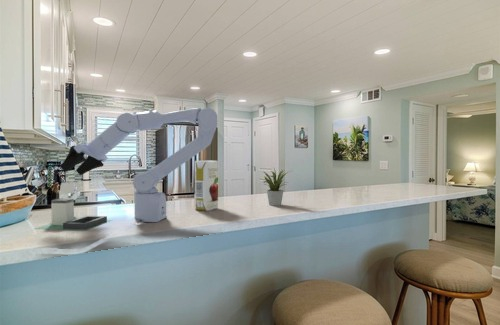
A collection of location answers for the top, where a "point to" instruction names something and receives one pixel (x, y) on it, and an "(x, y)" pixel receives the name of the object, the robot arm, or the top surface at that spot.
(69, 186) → the wineglass
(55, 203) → the plug
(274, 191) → the house plant
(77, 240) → the top surface
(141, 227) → the top surface
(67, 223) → the circuit board
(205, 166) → the juice carton
